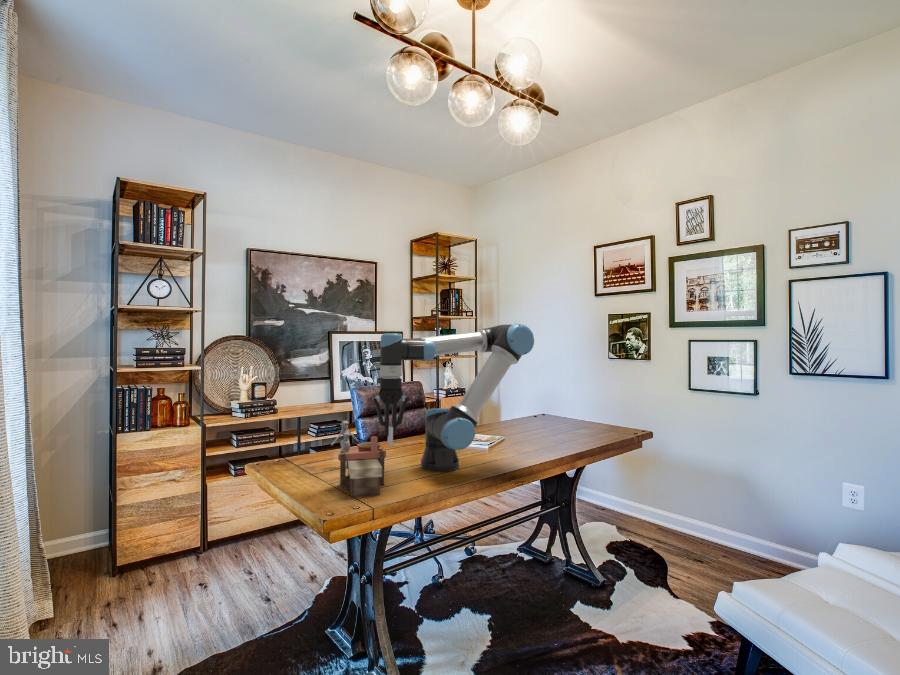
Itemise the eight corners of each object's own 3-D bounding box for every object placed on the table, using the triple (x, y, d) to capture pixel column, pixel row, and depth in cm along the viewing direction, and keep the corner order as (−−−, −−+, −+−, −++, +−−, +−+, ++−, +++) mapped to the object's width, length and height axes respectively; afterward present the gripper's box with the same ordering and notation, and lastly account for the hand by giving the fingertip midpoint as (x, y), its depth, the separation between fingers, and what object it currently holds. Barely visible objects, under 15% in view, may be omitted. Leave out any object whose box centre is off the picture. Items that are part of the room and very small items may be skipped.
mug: (352, 471, 176) (352, 444, 176) (370, 467, 182) (370, 441, 182) (372, 478, 168) (372, 449, 168) (390, 473, 174) (391, 445, 174)
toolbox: (382, 481, 164) (382, 448, 164) (388, 494, 151) (389, 458, 151) (339, 484, 160) (340, 451, 160) (342, 498, 147) (343, 461, 147)
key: (385, 456, 163) (385, 435, 163) (386, 457, 161) (386, 437, 161) (338, 459, 158) (338, 438, 159) (338, 460, 157) (338, 439, 157)
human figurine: (333, 471, 177) (334, 423, 177) (328, 469, 179) (329, 422, 179) (360, 465, 185) (361, 420, 185) (355, 463, 188) (356, 418, 188)
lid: (375, 464, 164) (375, 456, 164) (382, 476, 150) (382, 467, 150) (346, 466, 161) (346, 457, 161) (350, 479, 147) (350, 469, 147)
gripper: (373, 378, 157) (372, 448, 157) (411, 378, 161) (410, 446, 161) (370, 376, 164) (369, 443, 164) (407, 376, 168) (406, 441, 168)
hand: (390, 445), depth 163 cm, fingers closed
